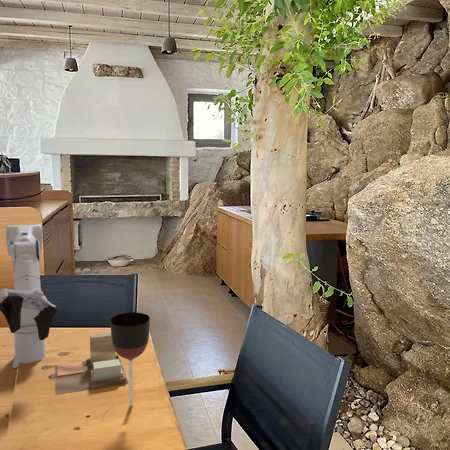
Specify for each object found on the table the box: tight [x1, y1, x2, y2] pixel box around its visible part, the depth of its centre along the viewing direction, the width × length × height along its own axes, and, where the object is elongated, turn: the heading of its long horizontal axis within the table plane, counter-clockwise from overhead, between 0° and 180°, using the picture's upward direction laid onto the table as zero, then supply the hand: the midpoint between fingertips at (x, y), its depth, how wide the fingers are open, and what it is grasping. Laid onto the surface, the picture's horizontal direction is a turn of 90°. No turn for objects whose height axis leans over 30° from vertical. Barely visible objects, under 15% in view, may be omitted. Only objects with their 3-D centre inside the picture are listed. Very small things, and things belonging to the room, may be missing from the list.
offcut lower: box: [91, 368, 123, 382], centre depth 107 cm, size 4×7×2 cm, turn 111°
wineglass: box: [109, 311, 151, 407], centre depth 95 cm, size 8×9×20 cm
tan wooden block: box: [89, 331, 117, 365], centre depth 114 cm, size 2×6×8 cm, turn 111°
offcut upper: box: [93, 359, 121, 377], centre depth 107 cm, size 4×6×2 cm, turn 111°
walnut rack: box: [54, 354, 129, 396], centre depth 110 cm, size 16×16×2 cm
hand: (30, 334), depth 99 cm, fingers open, 7 cm apart
